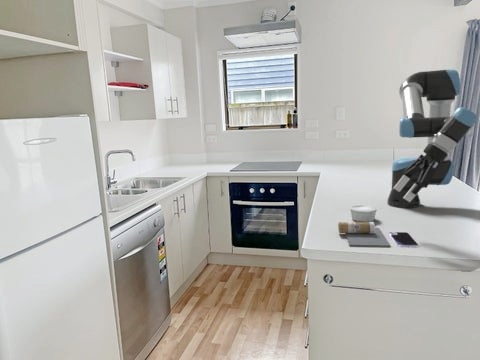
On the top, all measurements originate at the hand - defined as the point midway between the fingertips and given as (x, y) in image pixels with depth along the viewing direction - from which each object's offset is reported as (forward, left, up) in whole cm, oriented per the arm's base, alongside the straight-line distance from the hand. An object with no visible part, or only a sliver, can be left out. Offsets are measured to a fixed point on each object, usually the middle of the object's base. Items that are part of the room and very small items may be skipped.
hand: (400, 194), depth 134 cm
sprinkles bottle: (-1, -23, -14) cm, 27 cm away
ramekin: (-22, -10, -16) cm, 29 cm away
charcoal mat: (+2, -13, -16) cm, 21 cm away
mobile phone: (+5, 0, -17) cm, 17 cm away
